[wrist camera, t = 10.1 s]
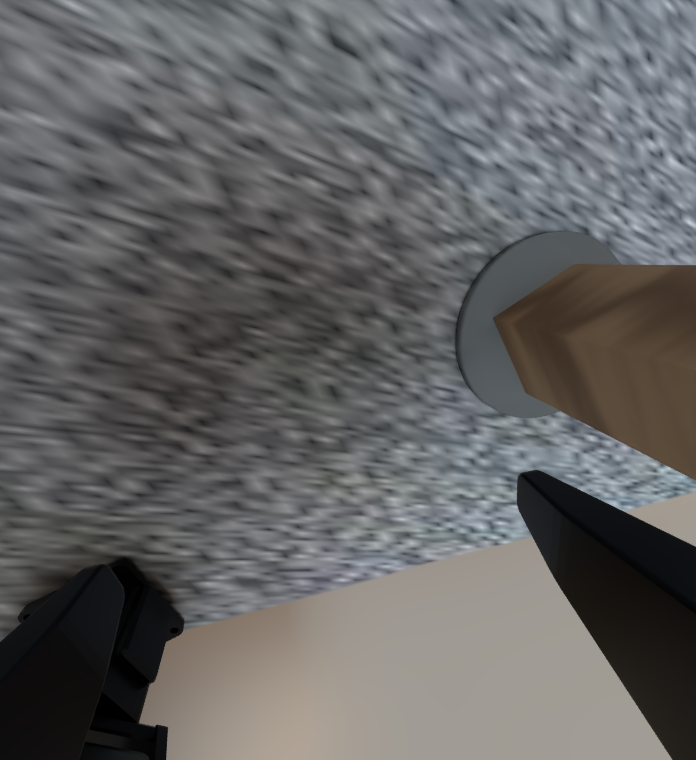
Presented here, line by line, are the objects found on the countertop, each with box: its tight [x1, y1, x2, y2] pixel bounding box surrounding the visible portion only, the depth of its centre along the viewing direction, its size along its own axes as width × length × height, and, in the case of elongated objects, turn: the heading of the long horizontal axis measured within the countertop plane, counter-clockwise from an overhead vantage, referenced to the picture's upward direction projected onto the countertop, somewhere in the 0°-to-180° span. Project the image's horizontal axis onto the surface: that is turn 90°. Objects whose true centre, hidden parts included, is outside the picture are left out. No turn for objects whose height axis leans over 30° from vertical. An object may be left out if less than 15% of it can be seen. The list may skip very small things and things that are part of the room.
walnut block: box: [493, 264, 696, 480], centre depth 16 cm, size 6×6×12 cm
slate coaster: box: [456, 231, 620, 418], centre depth 22 cm, size 11×11×1 cm
